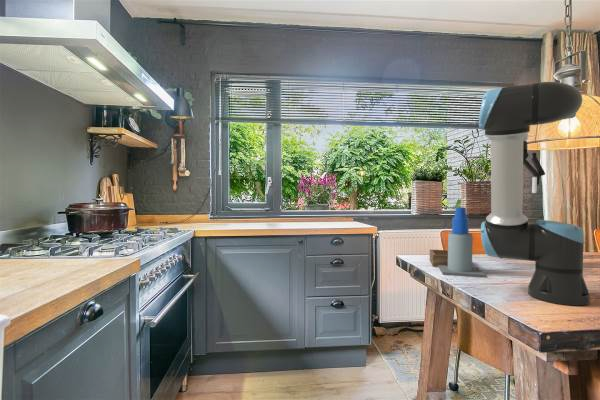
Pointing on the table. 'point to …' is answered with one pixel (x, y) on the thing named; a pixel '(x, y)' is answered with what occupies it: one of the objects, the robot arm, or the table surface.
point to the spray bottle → (460, 243)
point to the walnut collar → (439, 257)
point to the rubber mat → (474, 273)
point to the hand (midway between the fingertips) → (515, 193)
